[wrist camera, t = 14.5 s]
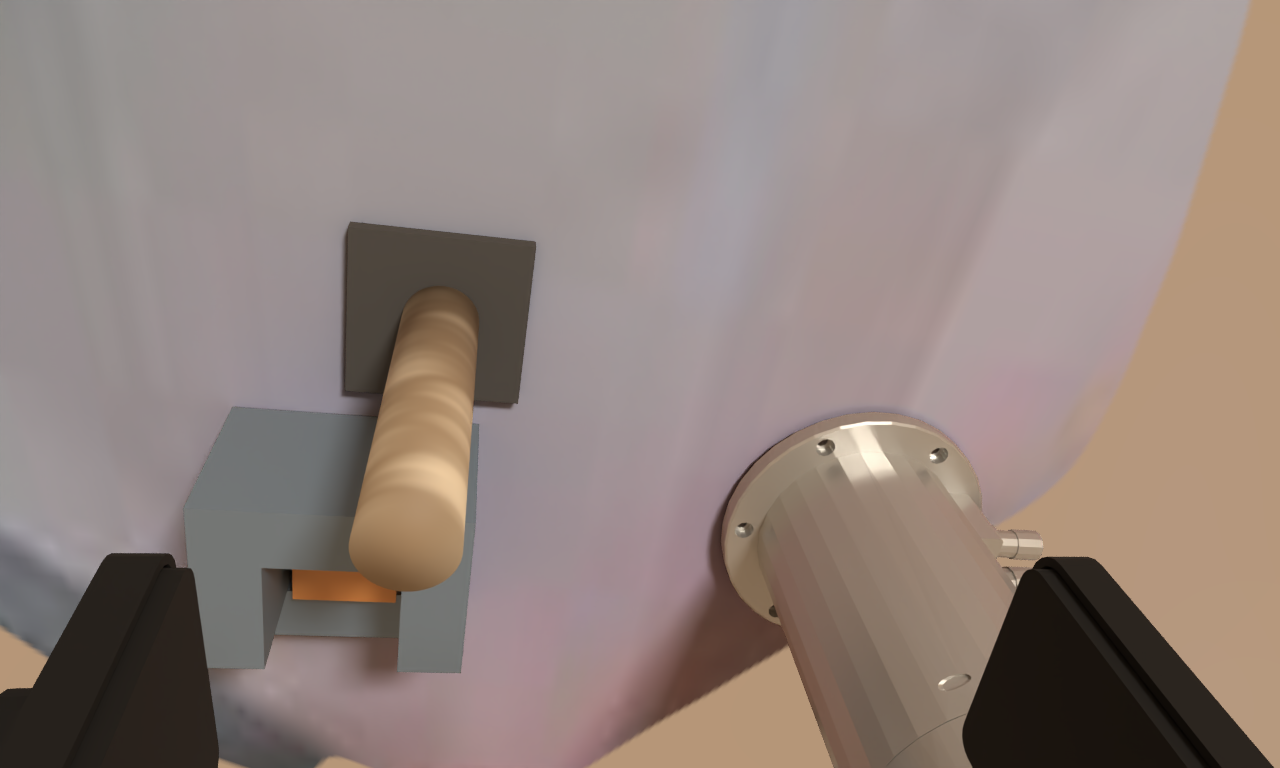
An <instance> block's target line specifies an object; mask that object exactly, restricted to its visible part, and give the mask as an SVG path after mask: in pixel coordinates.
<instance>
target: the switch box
mask: <svg viewBox="0 0 1280 768" xmlns="http://www.w3.org/2000/svg"><path fill="white" fill-rule="evenodd" d="M377 420H378V417H370V416H356V415H342V414H328V413H313V412H299V411H285V410H270V409H256V408H242V407H232V409H231V411H230V413H229V415H228V418H227V420H226V422H225V424H224V426H223V428H222V430H221V432H220V434H219V436H218V438H217V440H216V442H215V444H214V446H213V448H212V450H211V452H210V455H209V457H208V459H207V461H206V463H205V465H204V467H203V469H202V471H201V473H200V475H199V477H198V479H197V481H196V483H195V485H194V487H193V489H192V491H191V494H190V496H189V498H188V500H187V502H186V504H185V506H184V508H183V512H184V525H185V538H186V551H187V564H188V568H191V569H192V571H193V573H194V577H195V583H196V590H197V597H198V605H199V612H200V619H201V626H202V633H203V640H204V647H205V654H206V661H207V668H232V669H265V666H266V662H267V659H268V655H269V652H270V648H271V645H272V641H273V638H274V635H307V636H344V637H380V638H399V646H398V663H397V672H426V673H461V666H462V656H463V646H464V636H465V626H466V616H467V606H468V596H469V585H470V575H471V565H472V555H473V545H474V535H475V525H476V499H477V471H478V443H479V424H472V432H471V447H470V461H469V475H468V489H467V503H466V518H465V532H464V546H463V555H462V559H461V562H460V564H459V566H458V568H457V569H456V571H455V572H454V573H453V574H452V575H451V576H450V577H449V578H448V579H446V580H445V581H444V582H442V583H440V584H438V585H436V586H434V587H432V588H428V589H425V590H420V591H412V592H403V591H397V596H396V603H388V602H359V601H330V600H300V599H293V591H292V569H296V570H321V571H346V572H359V571H358V570H357V569H356V568H355V566H354V564H353V563H352V560H351V558H350V554H349V540H350V535H351V531H352V527H353V522H354V518H355V514H356V510H357V505H358V501H359V497H360V492H361V488H362V484H363V480H364V475H365V471H366V467H367V462H368V458H369V454H370V450H371V445H372V441H373V437H374V432H375V428H376V424H377Z"/></svg>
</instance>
